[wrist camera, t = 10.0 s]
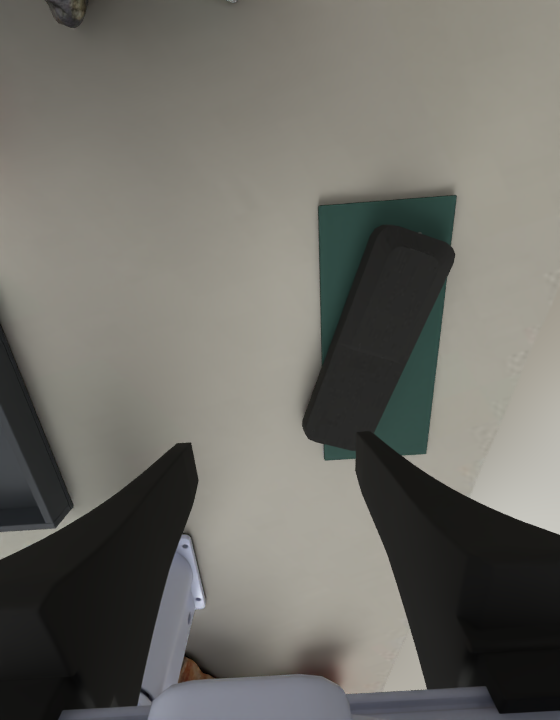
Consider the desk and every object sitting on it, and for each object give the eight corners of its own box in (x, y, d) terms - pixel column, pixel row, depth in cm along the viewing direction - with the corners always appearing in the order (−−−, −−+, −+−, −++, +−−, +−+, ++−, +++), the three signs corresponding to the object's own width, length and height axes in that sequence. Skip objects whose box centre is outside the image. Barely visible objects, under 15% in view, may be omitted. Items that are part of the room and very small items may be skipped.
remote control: (357, 441, 22) (451, 244, 17) (363, 456, 21) (469, 244, 15) (298, 426, 22) (375, 219, 17) (299, 441, 20) (386, 215, 15)
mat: (423, 450, 23) (426, 454, 22) (324, 457, 23) (324, 460, 22) (453, 196, 17) (457, 194, 16) (317, 206, 17) (318, 205, 16)
